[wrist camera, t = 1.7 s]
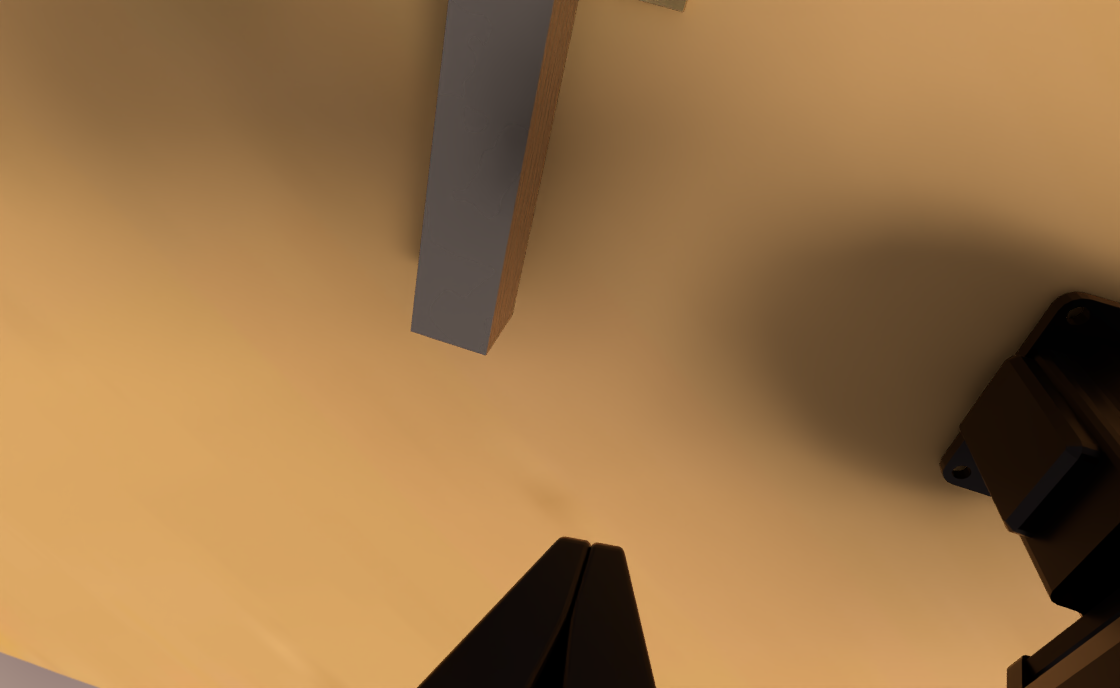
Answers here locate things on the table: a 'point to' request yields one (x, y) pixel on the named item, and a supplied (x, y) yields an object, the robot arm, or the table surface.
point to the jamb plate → (669, 4)
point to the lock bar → (487, 162)
